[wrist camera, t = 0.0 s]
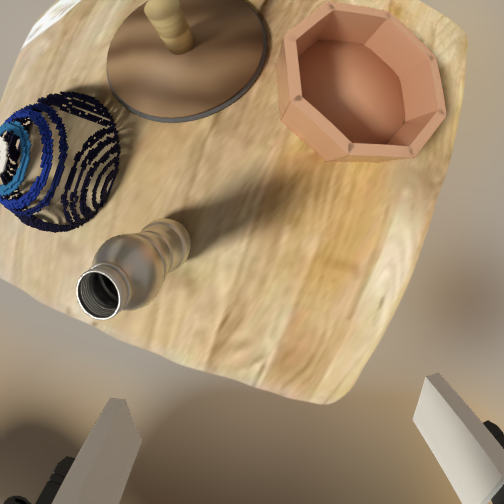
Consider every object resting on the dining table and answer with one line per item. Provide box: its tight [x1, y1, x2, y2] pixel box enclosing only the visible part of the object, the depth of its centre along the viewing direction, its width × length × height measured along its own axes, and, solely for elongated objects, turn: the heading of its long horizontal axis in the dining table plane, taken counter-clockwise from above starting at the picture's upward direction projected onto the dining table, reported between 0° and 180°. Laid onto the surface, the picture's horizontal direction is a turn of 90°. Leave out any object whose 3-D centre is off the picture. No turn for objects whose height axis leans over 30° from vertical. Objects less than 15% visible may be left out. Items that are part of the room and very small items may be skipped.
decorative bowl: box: [0, 91, 121, 233], centre depth 28 cm, size 20×20×14 cm
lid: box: [107, 0, 263, 119], centre depth 26 cm, size 21×21×11 cm
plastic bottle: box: [76, 218, 191, 320], centre depth 28 cm, size 6×7×20 cm
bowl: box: [276, 2, 447, 163], centre depth 29 cm, size 18×18×9 cm
